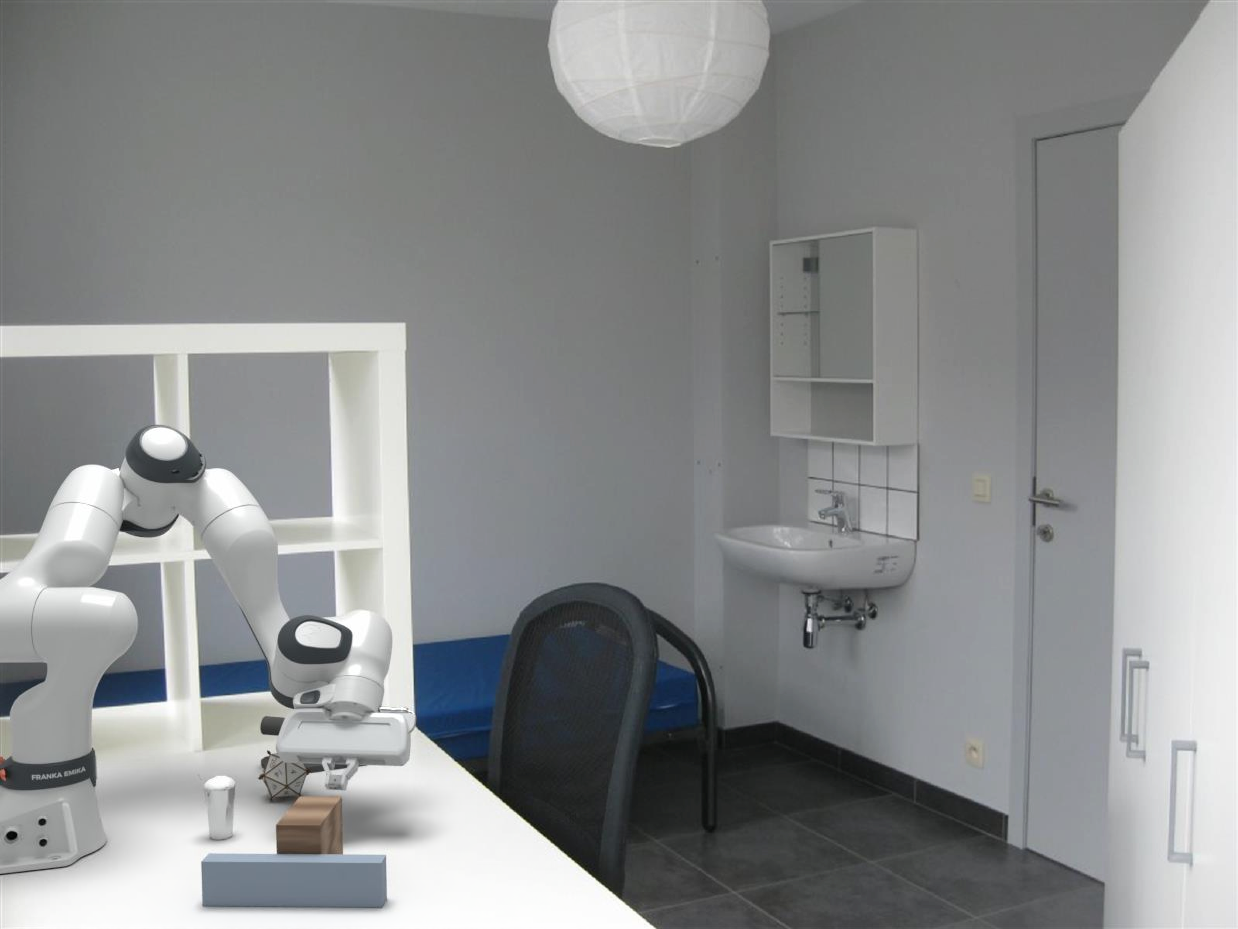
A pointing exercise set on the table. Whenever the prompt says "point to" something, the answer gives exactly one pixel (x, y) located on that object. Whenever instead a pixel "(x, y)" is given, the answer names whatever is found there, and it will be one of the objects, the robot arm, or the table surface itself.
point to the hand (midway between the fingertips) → (335, 788)
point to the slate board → (294, 880)
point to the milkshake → (220, 806)
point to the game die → (283, 777)
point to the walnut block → (311, 827)
